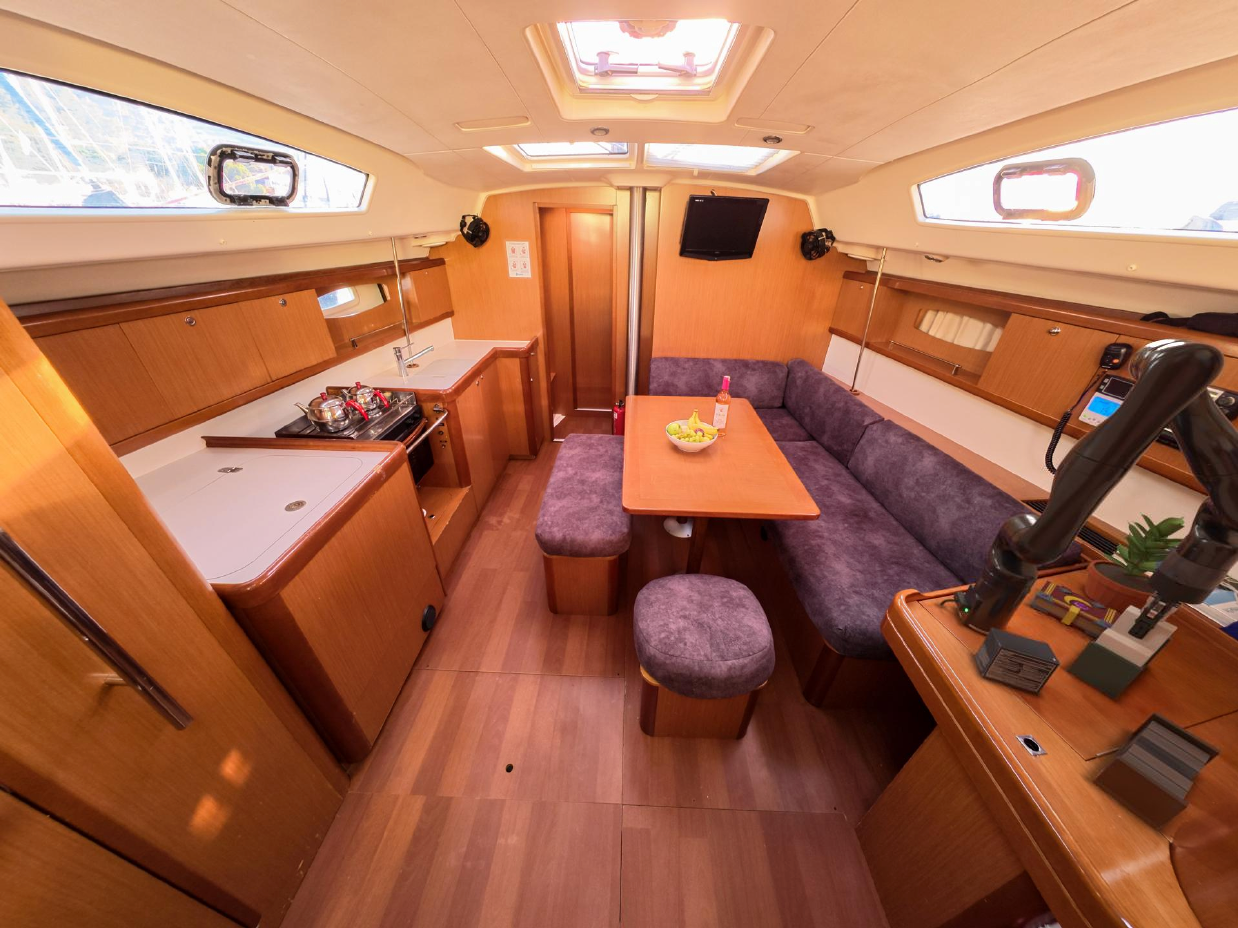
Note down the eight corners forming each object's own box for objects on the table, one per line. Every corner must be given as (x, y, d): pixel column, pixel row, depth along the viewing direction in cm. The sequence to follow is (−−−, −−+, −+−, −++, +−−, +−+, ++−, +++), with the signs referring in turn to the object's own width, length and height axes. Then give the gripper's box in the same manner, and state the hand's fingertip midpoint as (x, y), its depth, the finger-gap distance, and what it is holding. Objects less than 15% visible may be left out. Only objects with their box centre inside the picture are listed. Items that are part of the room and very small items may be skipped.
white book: (1139, 668, 91) (1173, 632, 85) (1096, 645, 96) (1125, 609, 91) (1144, 663, 92) (1178, 627, 87) (1101, 640, 98) (1130, 605, 92)
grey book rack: (1156, 830, 68) (1187, 806, 65) (1092, 781, 75) (1117, 757, 71) (1192, 774, 76) (1221, 750, 73) (1131, 734, 83) (1155, 711, 79)
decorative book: (1039, 590, 120) (1048, 577, 118) (1118, 627, 108) (1129, 613, 106) (1028, 606, 114) (1037, 593, 112) (1110, 646, 102) (1122, 633, 100)
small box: (1026, 672, 95) (1049, 642, 90) (1038, 696, 90) (1063, 665, 85) (972, 655, 99) (991, 625, 94) (980, 677, 93) (1001, 646, 89)
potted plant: (1122, 588, 122) (1187, 505, 108) (1161, 625, 109) (1241, 536, 95) (1060, 575, 126) (1115, 494, 113) (1091, 609, 113) (1157, 523, 100)
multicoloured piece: (1114, 699, 89) (1150, 661, 83) (1067, 670, 96) (1097, 632, 90) (1145, 666, 97) (1180, 629, 91) (1100, 641, 104) (1129, 604, 98)
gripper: (1170, 555, 89) (1125, 611, 97) (1148, 574, 83) (1101, 631, 91) (1226, 577, 83) (1173, 634, 91) (1206, 598, 77) (1151, 658, 85)
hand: (1137, 633), depth 91 cm, fingers closed on white book, 3 cm apart
